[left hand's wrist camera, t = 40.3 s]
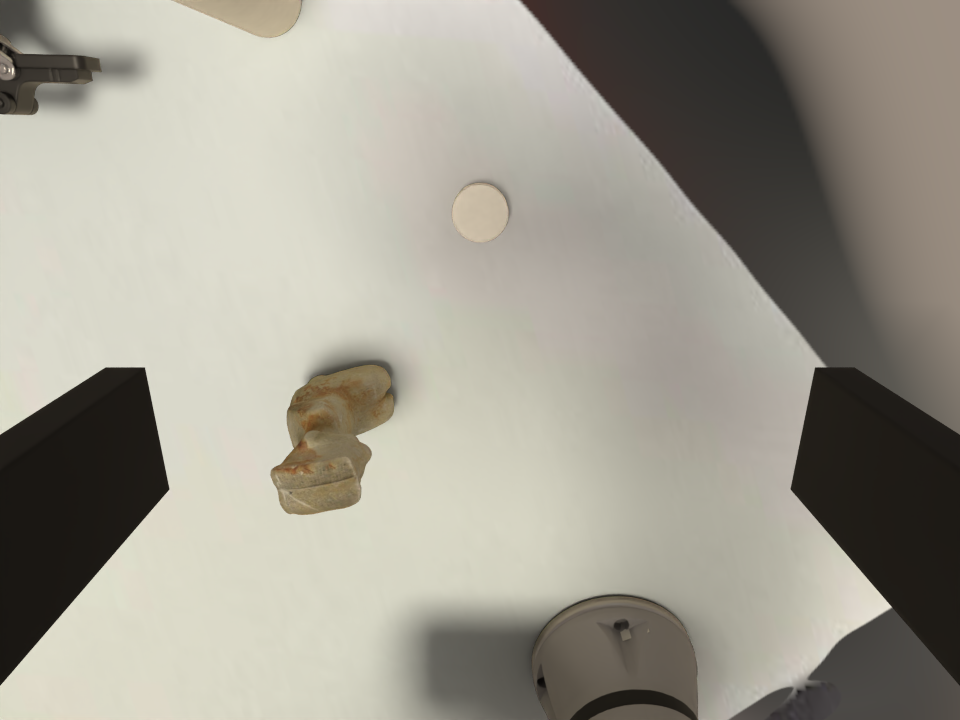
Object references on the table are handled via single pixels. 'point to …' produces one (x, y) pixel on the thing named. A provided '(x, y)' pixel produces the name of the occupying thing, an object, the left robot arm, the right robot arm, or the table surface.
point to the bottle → (251, 14)
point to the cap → (480, 212)
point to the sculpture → (331, 439)
